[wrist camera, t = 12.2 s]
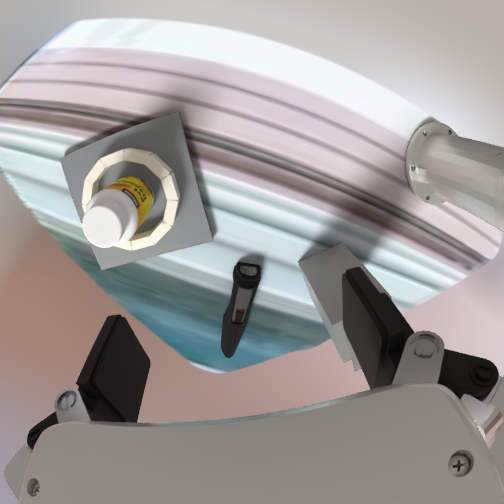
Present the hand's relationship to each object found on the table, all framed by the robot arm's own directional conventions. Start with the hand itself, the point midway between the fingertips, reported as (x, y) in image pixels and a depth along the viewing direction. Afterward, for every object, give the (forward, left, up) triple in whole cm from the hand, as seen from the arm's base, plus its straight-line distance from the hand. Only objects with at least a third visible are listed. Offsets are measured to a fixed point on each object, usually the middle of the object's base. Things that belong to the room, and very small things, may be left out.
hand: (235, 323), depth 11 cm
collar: (+11, -2, -24) cm, 26 cm away
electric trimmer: (+2, +17, -25) cm, 30 cm away
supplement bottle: (+10, -2, -23) cm, 26 cm away
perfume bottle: (-11, +15, -24) cm, 30 cm away
